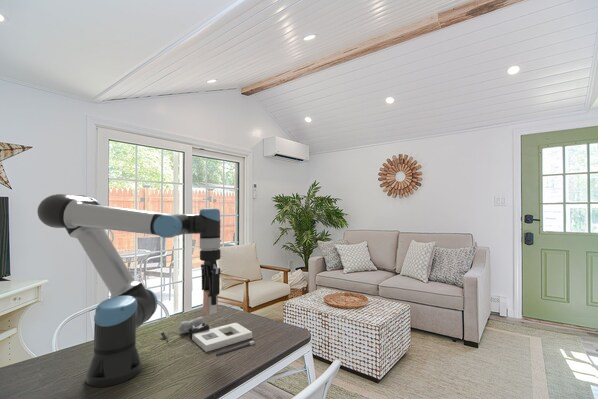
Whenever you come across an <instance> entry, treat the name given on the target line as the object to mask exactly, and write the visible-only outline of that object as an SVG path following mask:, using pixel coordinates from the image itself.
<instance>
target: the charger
mask: <svg viewBox="0 0 598 399" xmlns="http://www.w3.org/2000/svg"><path fill="white" fill-rule="evenodd" d="M202 291H203V294H202V295H203V296H202V298H203V301H202V302H203V303H202V304H203V305H202V306H203V308H202V309H203V313H204V314H205V315H206V316H211V315H212V314H209V297H208V295H210V290H206V291H204V290H202ZM218 299H219V296H218V295H217V313H214V314H213V315H215V314H218V313H219V302H218V301H219V300H218Z"/></svg>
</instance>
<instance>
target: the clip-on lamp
mask: <svg viewBox="0 0 598 399" xmlns="http://www.w3.org/2000/svg"><path fill="white" fill-rule="evenodd" d="M209 329H210V326H209V324H205V319H204V317H203V316H199V317H197V318H194V319H192V320H183V321H182V322H180V325H179V326H178V330H179V332H175V331H169V332H168V335H166V334H165V332H164V331H160V332H161V333H160V335H161V337H162V338H163V340H164V341H168V340H169V335H170V334H171V333H172V334H174V335H175V334H176V335H181V334H189V338H190V339H192V334H194V333H198V332H202V331H206V330H209Z"/></svg>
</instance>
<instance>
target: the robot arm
mask: <svg viewBox="0 0 598 399" xmlns="http://www.w3.org/2000/svg"><path fill="white" fill-rule="evenodd" d="M37 216H38V219H39V220H40V221H41V223H43V225H45V226H47V227H51V228H54V229H65V230H66V232H67V234H68V236H69V237H70V238H74V239H77V240H78V242H79V243H80V245H81V246H82V249H83V250H84V252H85V253H86V255H87V256H88V258H89V260H90V262H91V263H92V265H93V267H94V268H95V270H96V272H97V273H98V275H99V276H100V279H101V280H102V282H103V283H104V285H105V287H106V288H107V290H108V292H109V293H110V298H107V299H105V300H103V301H101V302H100V303H99V304H97V306H96V308H95V310H94V311H95V312H94V316H93V320H94V321H93V322H94V327H93V328H94V330H93V332H94V334H93V354H92V357H91V359H90V363H89V365H88V368H87V370H86V373H85V383H86V384H87V385H88V386H91V387H97V388H101V387H103V388H104V387H109V386H111V387H112V386H114V385H119V384H121V383H124V382H127V381H129V380H130V379H132V378H134V377H135V376H137V375H138V374H139V373H140V371H141V369H142V360H141V358H140V357H141V356H140V355H139V352H138V349H137V344H136V343H137V341H136V340H137V338H136V337H137V329H138V328H139V327H141V326H142V325H143V324H145V322H147V321H149V320H150V319H151V318H152V316H153V315H154V314H155V313H156V310H157V309H158V303H159V302H158V298H157V295H156V294H155V293H154V292H153V290H151V289H147V288H145V285H144V284H143V282H141V281H137V280H135V278H134V277H133V275H132V273H131V272H130V270H129V268H128V267H127V265H126V264H125V262H124V260H123V258H122V256H121V255H120V254H119V251H118V250H117V248H116V247H115V245H114V244H113V242H112V241H111V238H110V237H109V235H108V234H107V233H106V231H105V230H110V231H111V230H112V231H119V232H120V231H121V232H127V233H137V234H145V235H153V236H159V237H161V238H164V239H165V238H167V239H169V238H170V239H171V238H173V237H174V238H175V237H177V236H181V235H194V234H195V235H196V234H197V235H198V234H199V249H200V251H199V260H200V261H201V262H203V263H202V264H200V269H201V291H206V290H210V295H208V297H209V314H211V315H215V314H218V313H217V295H220V285H221V283H220V280H221V279H220V278H221V277H220V276H221V275H220V274H221V268H220V267H218V264H217V261H219V260H220V259H221V249H220V248H221V243H222V240H221V221H222V220H221V212H220V209H219V208H201V209H199V212H198V213H196V214H195V213H174V214H172V213H171V214H170V213H166V212H165V213H164V212H156V211H148V210H139V209H133V208H132V209H131V208H123V207H115V206H106V205H102V204H101V203H100V202H99V201H98V200H97V199H95V198H93V197H90V196H87V195H82V194H81V195H74V194H62V193H57V194H52V195H48V196H47V197H45V198H43V200H41V201H40V203H39V205H38V207H37ZM214 313H215V314H214Z"/></svg>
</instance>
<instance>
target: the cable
mask: <svg viewBox="0 0 598 399" xmlns="http://www.w3.org/2000/svg"><path fill="white" fill-rule="evenodd" d="M255 344H256V343H255V341H254V340H250V341H249V342H247V343H244V344H240V345H238V346H235V347H231V348H228V349H224V350H221V351H219V352H215V356H219V355H223V354H225V353H229V352H231V351H235V350H238V349H241V348H244V347H246V346H247V347H248V346H253V345H255Z"/></svg>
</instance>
